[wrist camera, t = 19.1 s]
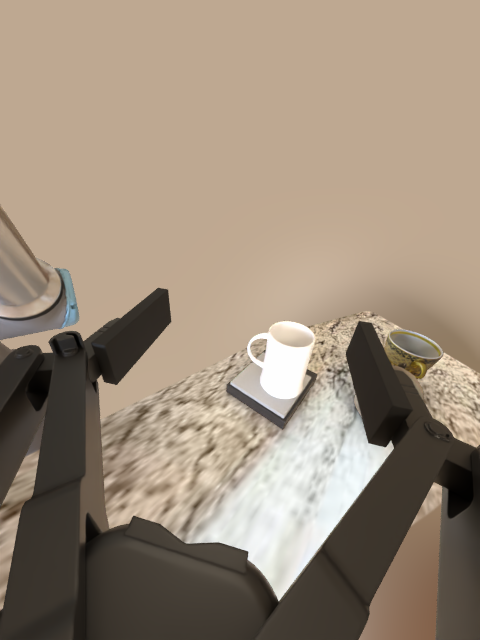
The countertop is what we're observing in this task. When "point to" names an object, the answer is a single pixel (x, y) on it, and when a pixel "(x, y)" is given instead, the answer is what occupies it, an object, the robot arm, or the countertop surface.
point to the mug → (285, 358)
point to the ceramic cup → (412, 351)
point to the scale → (266, 394)
